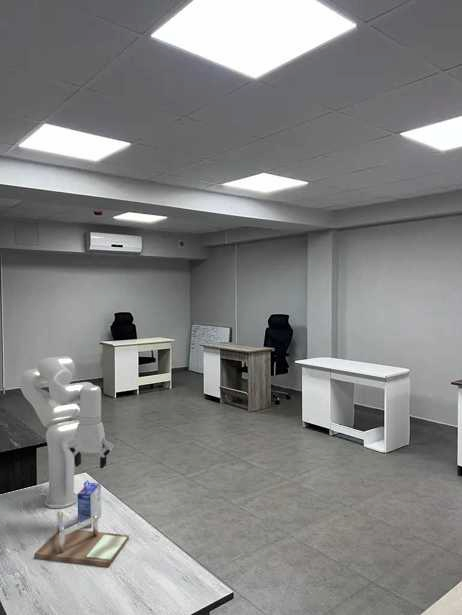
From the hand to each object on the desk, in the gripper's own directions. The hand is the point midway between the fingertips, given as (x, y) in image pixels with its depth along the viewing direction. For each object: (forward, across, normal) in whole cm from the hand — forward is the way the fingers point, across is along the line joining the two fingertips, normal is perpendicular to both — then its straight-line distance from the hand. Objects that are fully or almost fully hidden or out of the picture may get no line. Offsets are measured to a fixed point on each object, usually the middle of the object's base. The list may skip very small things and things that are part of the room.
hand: (90, 466), depth 169 cm
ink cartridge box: (+21, 0, 0) cm, 21 cm away
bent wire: (+19, +1, -17) cm, 26 cm away
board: (+21, +6, -17) cm, 28 cm away
